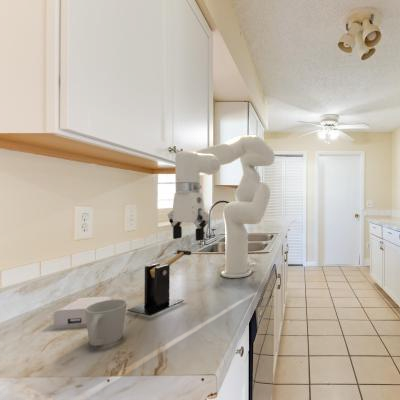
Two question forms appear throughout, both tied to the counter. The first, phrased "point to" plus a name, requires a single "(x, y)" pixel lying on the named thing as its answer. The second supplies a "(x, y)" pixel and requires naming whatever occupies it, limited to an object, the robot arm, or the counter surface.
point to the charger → (76, 311)
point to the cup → (105, 321)
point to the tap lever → (180, 254)
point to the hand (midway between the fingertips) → (188, 239)
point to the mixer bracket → (156, 291)
